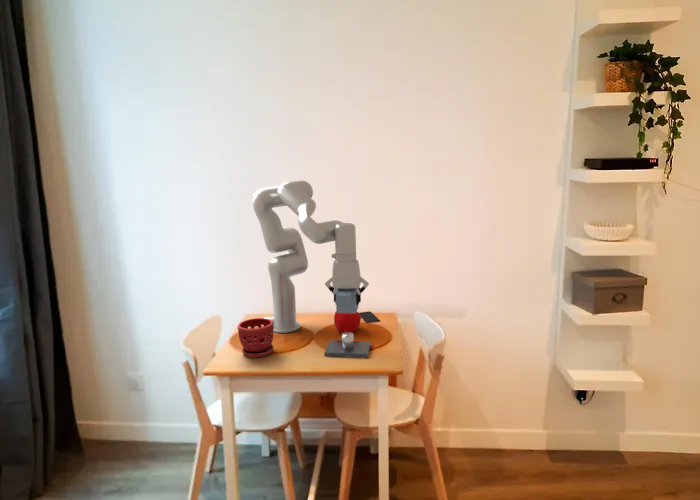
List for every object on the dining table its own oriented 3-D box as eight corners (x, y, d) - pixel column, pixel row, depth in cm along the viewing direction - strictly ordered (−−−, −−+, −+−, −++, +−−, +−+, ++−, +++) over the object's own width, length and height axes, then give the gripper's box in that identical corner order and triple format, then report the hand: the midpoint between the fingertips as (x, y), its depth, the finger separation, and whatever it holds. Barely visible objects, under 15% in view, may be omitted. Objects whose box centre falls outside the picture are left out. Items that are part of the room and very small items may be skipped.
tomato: (329, 335, 209) (328, 311, 207) (340, 324, 221) (339, 301, 219) (355, 337, 206) (355, 313, 203) (365, 326, 217) (364, 303, 215)
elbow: (334, 316, 183) (333, 295, 181) (339, 306, 194) (338, 286, 192) (354, 317, 182) (353, 295, 180) (358, 306, 193) (357, 286, 191)
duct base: (324, 356, 189) (323, 339, 187) (330, 343, 200) (329, 327, 199) (367, 358, 187) (367, 341, 185) (370, 345, 198) (370, 329, 197)
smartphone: (370, 311, 236) (381, 321, 223) (370, 312, 236) (381, 322, 223) (356, 312, 234) (366, 323, 221) (356, 314, 234) (366, 324, 221)
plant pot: (279, 346, 198) (278, 317, 196) (267, 361, 186) (265, 330, 183) (248, 344, 201) (246, 315, 198) (234, 358, 189) (231, 328, 186)
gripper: (320, 259, 183) (322, 306, 187) (368, 259, 181) (369, 307, 184) (324, 254, 191) (326, 300, 194) (370, 255, 188) (371, 301, 192)
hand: (347, 303), depth 189 cm, fingers closed on elbow, 7 cm apart
